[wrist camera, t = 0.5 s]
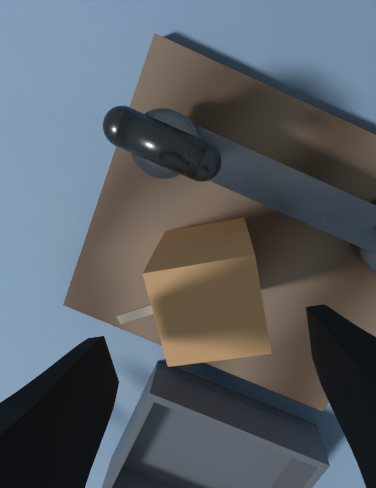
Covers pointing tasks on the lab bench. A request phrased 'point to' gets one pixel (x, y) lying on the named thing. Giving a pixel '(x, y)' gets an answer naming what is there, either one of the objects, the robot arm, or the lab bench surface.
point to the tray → (212, 440)
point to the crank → (241, 173)
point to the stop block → (207, 294)
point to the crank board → (234, 216)
